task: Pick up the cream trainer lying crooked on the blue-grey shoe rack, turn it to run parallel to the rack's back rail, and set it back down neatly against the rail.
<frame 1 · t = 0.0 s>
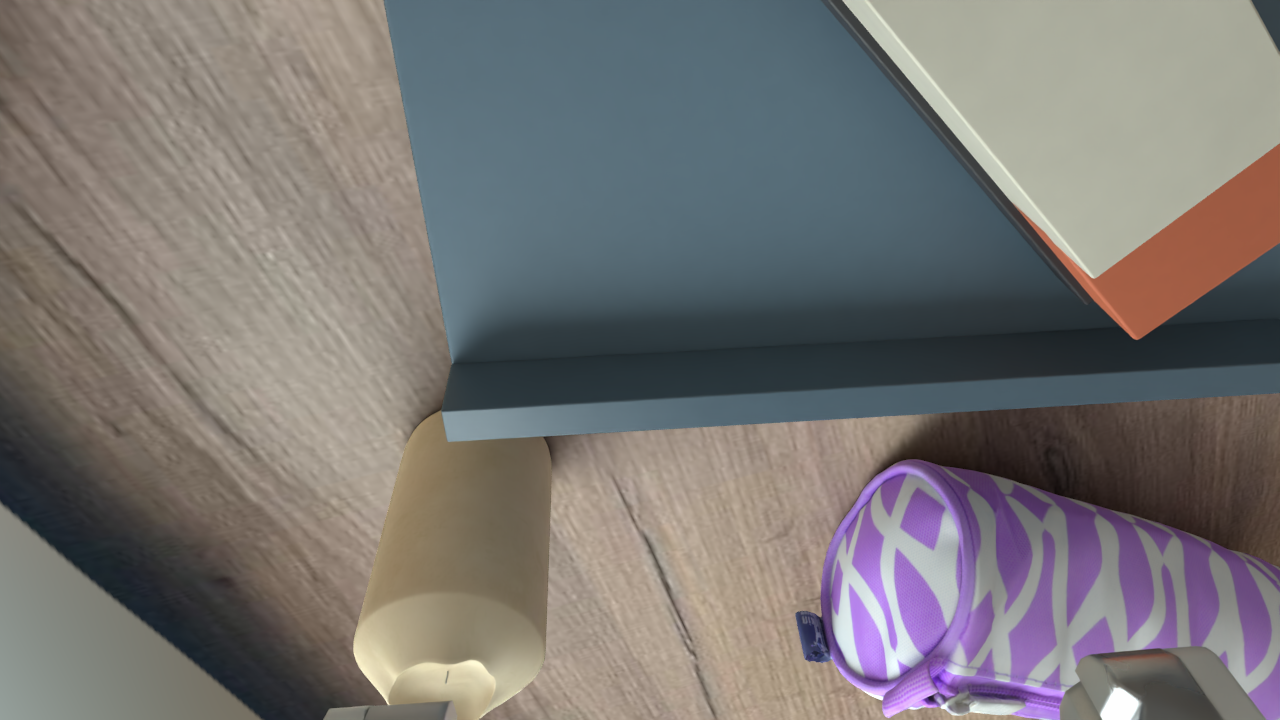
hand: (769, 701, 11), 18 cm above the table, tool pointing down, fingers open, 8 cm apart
pencil case: (1043, 539, 36), on the table
trainer: (1010, 40, 17), point 6 cm above the table, touching shoe rack
shoe rack: (873, 27, 23), on the table
candle: (479, 455, 31), on the table
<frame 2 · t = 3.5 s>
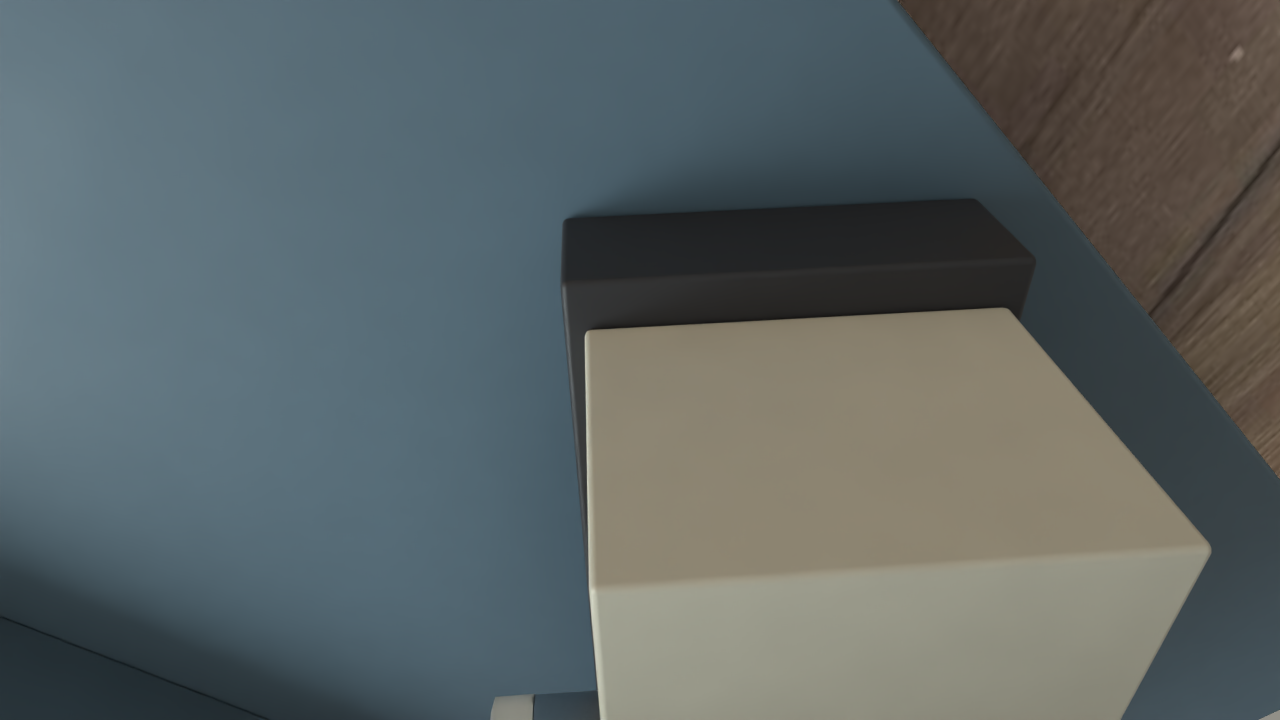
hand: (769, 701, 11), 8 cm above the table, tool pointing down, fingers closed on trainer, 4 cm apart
trainer: (744, 574, 12), point 6 cm above the table, touching gripper, shoe rack
shoe rack: (627, 357, 17), on the table
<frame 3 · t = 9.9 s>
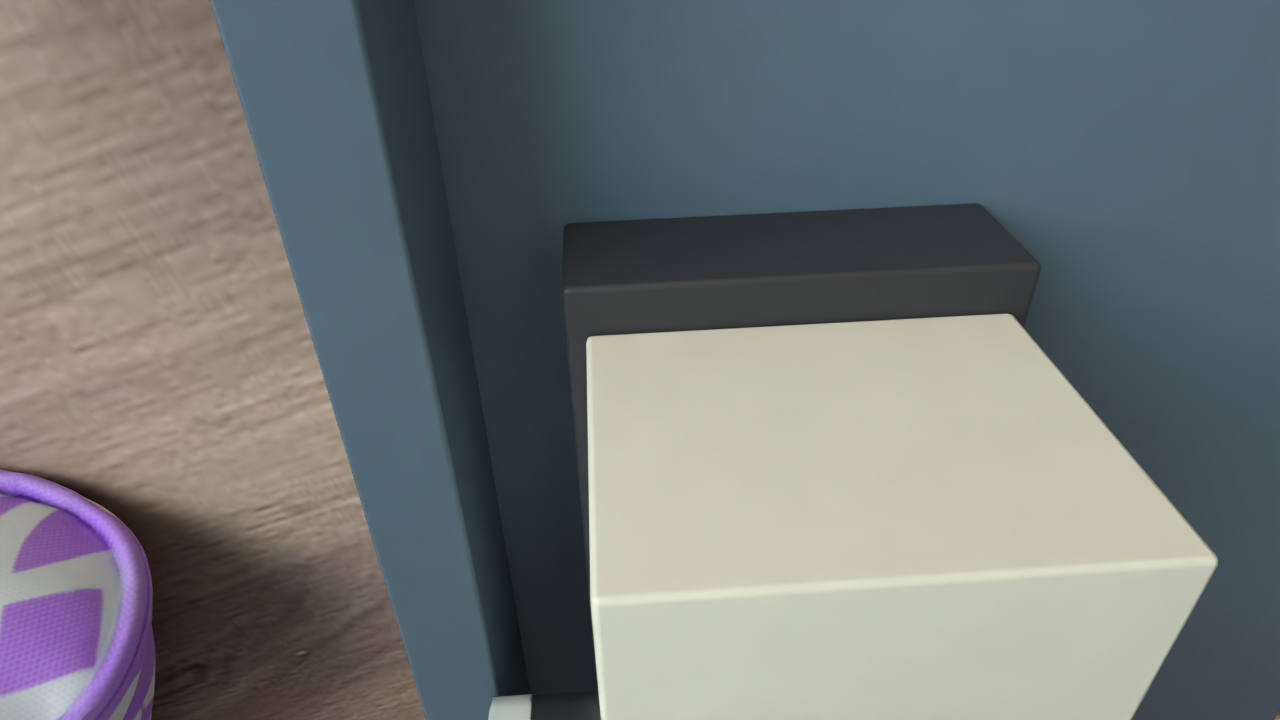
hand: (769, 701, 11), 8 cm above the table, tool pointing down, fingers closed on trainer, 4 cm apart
pencil case: (21, 703, 23), on the table
trainer: (746, 578, 12), point 6 cm above the table, touching gripper, shoe rack
shoe rack: (838, 345, 17), on the table
when the fingers open (8 cm above the table, at t = 10.4 s): trainer stays where it is, resting on shoe rack.
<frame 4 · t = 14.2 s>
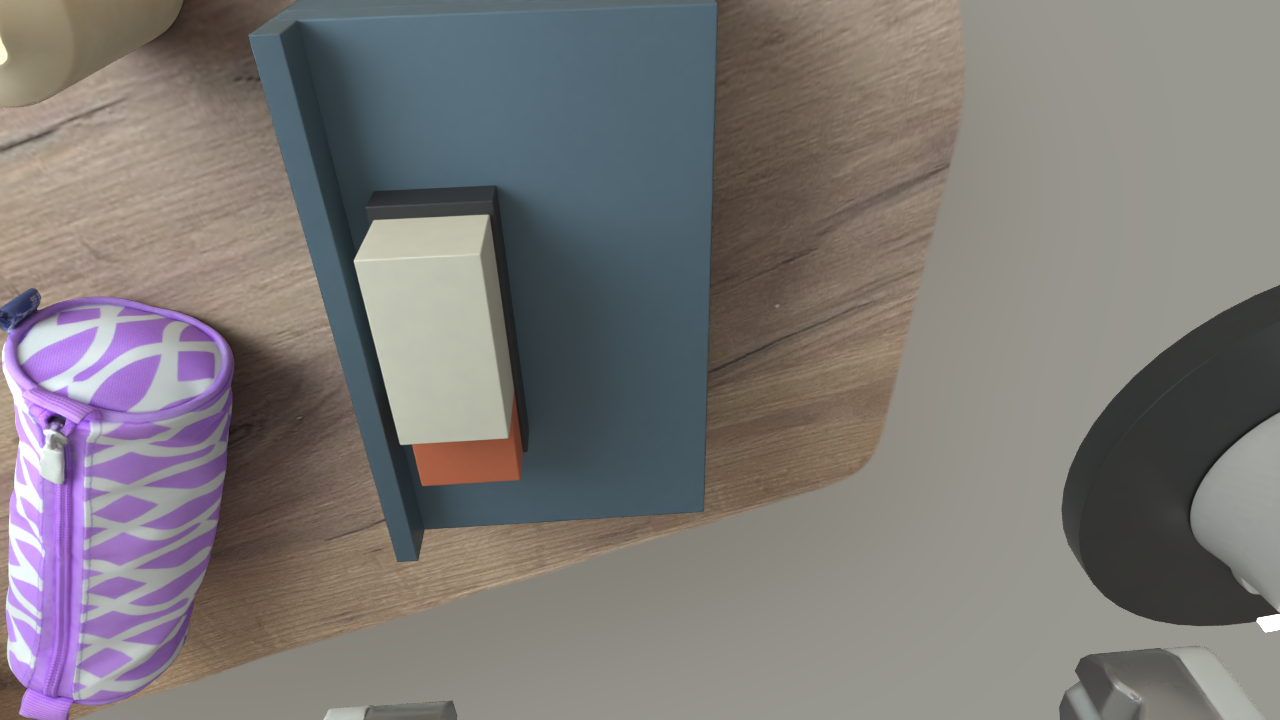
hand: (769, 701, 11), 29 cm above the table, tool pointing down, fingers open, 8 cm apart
pencil case: (155, 447, 44), on the table
trainer: (459, 323, 34), point 6 cm above the table, touching shoe rack
shoe rack: (537, 252, 39), on the table
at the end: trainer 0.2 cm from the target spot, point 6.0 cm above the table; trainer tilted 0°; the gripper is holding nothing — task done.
